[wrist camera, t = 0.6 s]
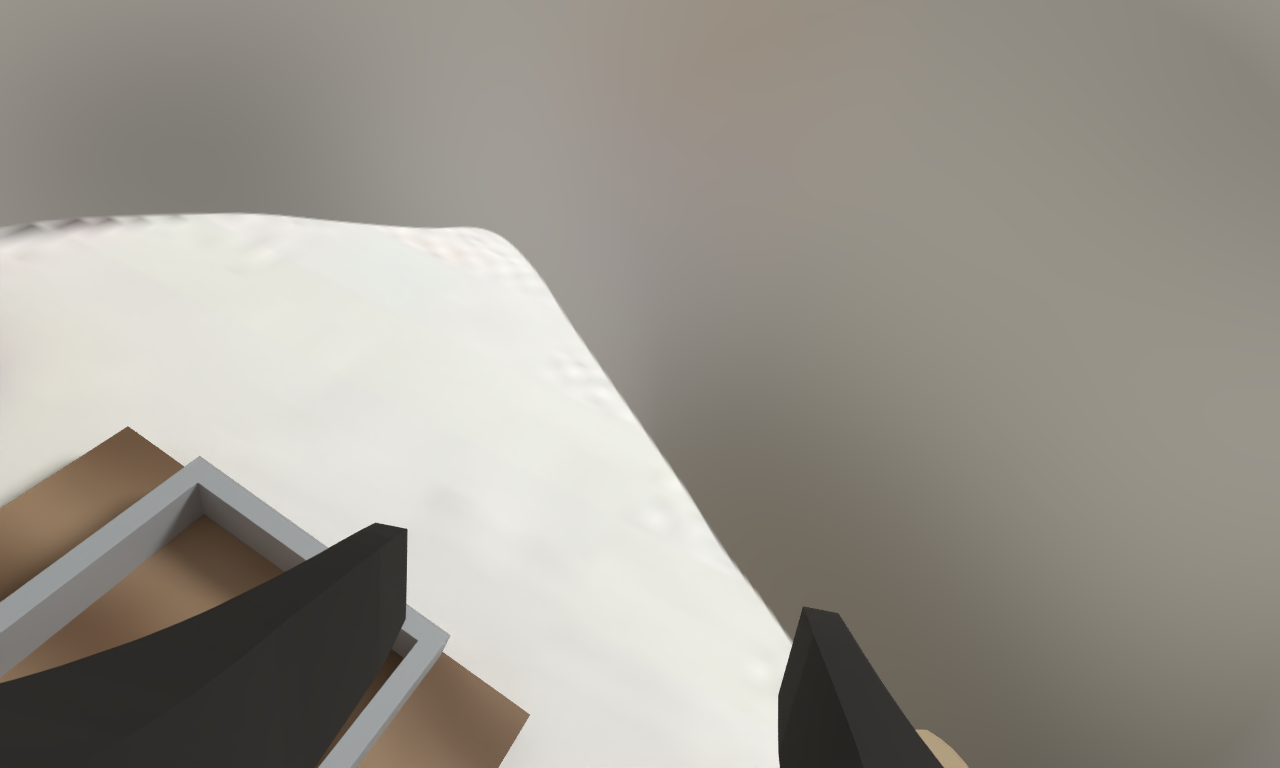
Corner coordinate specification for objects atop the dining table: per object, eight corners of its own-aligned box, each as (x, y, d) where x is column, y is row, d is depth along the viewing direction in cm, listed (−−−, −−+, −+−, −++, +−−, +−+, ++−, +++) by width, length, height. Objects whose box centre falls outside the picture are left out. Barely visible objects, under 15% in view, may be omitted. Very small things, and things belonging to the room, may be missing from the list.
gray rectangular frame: (93, 1118, 17) (71, 1136, 16) (-255, 845, 18) (-314, 833, 16) (439, 656, 27) (450, 635, 25) (205, 488, 28) (199, 455, 26)
